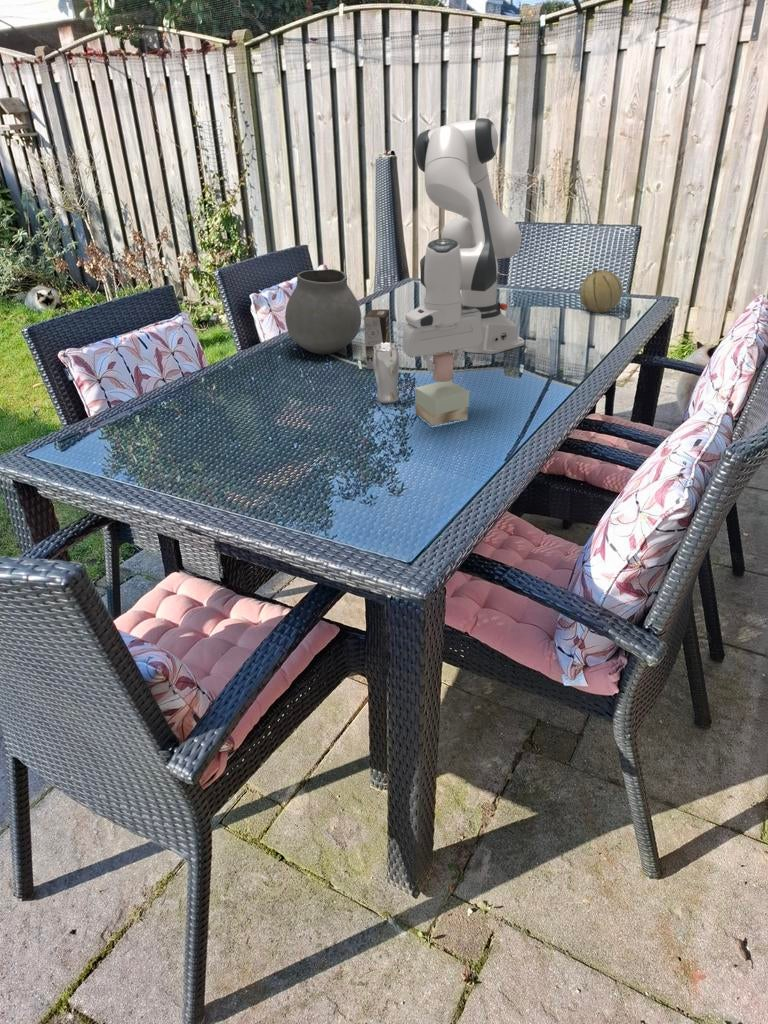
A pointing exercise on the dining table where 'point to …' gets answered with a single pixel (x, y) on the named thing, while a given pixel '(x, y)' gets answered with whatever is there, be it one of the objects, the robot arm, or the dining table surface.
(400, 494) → the dining table surface
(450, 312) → the robot arm
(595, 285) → the cantaloupe
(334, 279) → the ceramic pot
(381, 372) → the beer glass
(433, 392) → the tower top
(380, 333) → the coffee box
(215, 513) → the dining table surface
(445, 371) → the rose cylinder
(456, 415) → the tower base
